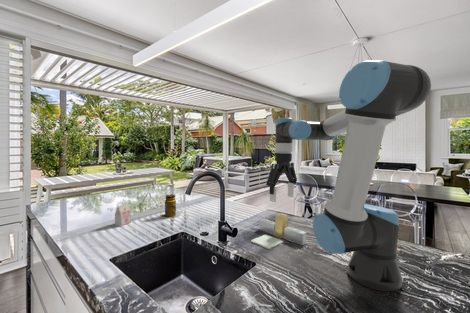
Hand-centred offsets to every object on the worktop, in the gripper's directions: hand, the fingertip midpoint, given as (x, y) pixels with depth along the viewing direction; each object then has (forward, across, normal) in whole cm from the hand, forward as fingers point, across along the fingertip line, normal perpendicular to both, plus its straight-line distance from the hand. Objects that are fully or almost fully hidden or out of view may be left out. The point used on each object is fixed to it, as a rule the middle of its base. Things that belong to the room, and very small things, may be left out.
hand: (281, 199), depth 109 cm
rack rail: (+17, 0, 0) cm, 17 cm away
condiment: (+18, +25, -60) cm, 67 cm away
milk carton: (+18, +49, -63) cm, 82 cm away
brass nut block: (+17, 0, 0) cm, 17 cm away
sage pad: (+17, +10, 0) cm, 20 cm away
